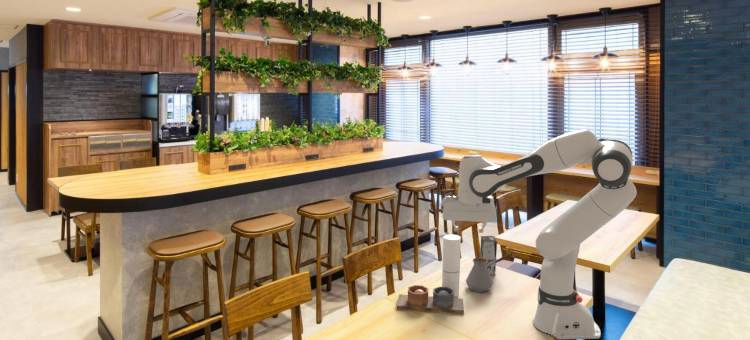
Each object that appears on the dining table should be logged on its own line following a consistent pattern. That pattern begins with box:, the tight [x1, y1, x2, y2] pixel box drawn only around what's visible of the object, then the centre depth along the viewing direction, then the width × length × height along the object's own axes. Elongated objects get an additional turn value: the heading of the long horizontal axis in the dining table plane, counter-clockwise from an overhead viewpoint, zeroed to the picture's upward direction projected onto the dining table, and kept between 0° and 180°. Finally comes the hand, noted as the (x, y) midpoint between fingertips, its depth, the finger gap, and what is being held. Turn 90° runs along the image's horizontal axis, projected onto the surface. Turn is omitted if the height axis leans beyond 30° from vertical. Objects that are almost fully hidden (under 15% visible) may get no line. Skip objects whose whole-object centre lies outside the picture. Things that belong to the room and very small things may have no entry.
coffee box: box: [479, 235, 498, 276], centre depth 213 cm, size 9×6×16 cm
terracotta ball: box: [414, 289, 424, 293], centre depth 179 cm, size 5×5×5 cm
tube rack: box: [396, 284, 465, 315], centre depth 179 cm, size 26×10×6 cm, turn 81°
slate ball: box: [438, 291, 449, 295], centre depth 178 cm, size 5×5×5 cm
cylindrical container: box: [441, 233, 462, 298], centre depth 188 cm, size 7×7×25 cm
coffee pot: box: [465, 252, 515, 293], centre depth 195 cm, size 21×12×15 cm, turn 101°
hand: (468, 231), depth 173 cm, fingers open, 8 cm apart
